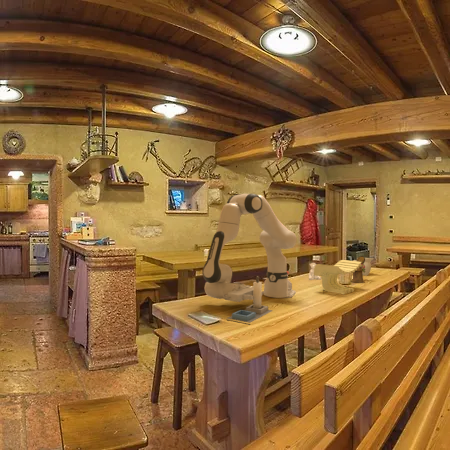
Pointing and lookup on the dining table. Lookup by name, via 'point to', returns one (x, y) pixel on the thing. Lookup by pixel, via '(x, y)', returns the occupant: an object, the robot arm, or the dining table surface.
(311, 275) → the white creature statuette
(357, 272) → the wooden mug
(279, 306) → the dining table surface
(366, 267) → the pitcher
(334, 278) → the slatted curved stool
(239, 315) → the lever base plate
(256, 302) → the knob-topped cream cylinder
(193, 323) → the dining table surface
